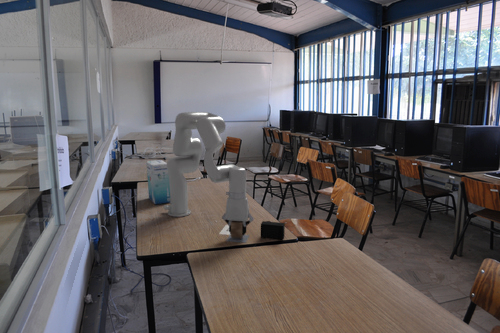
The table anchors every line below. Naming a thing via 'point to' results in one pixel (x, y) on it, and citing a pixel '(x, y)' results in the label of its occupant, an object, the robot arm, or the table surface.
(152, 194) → the toothbrush box
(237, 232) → the walnut block
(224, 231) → the card
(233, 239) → the rubber mat
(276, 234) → the digital camera
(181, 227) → the table surface
